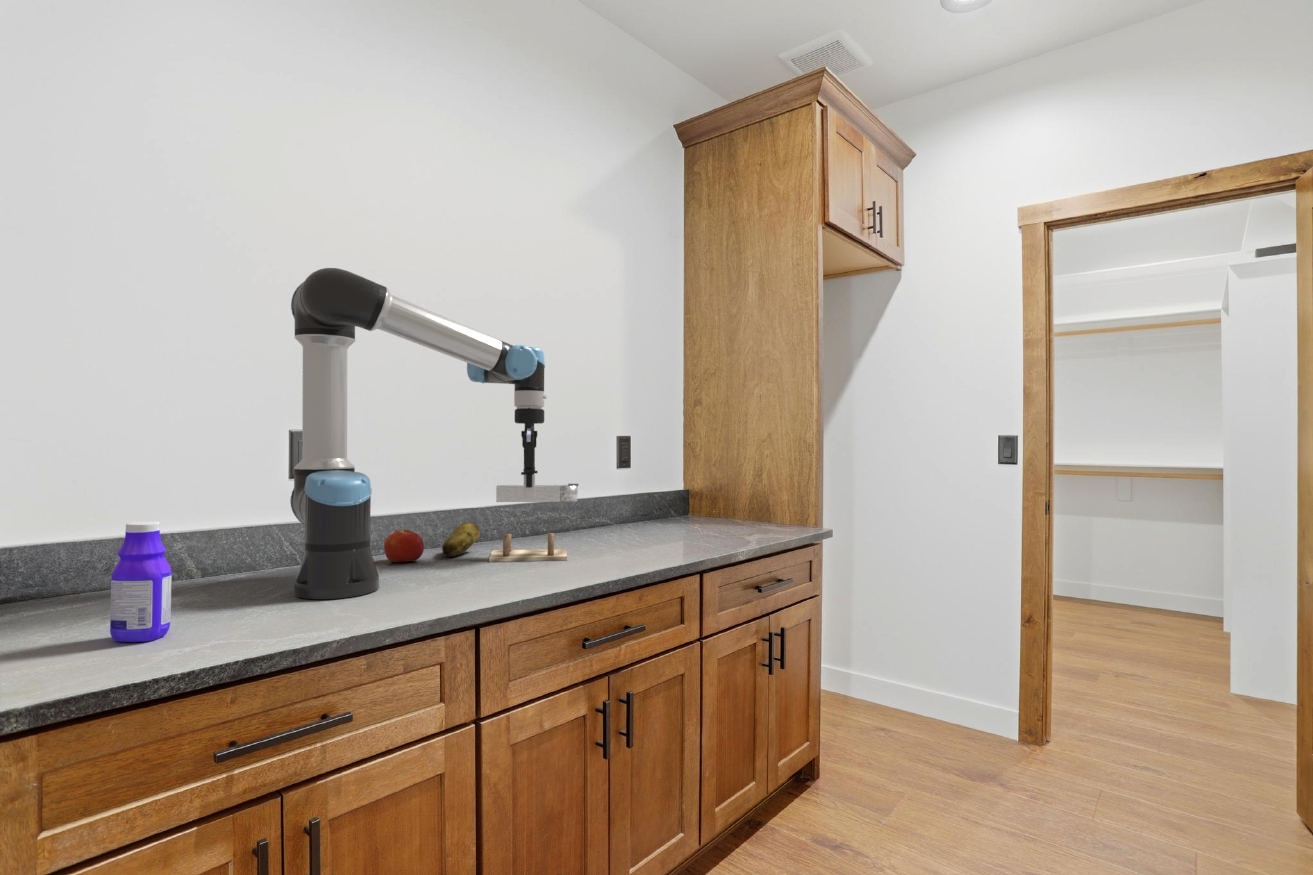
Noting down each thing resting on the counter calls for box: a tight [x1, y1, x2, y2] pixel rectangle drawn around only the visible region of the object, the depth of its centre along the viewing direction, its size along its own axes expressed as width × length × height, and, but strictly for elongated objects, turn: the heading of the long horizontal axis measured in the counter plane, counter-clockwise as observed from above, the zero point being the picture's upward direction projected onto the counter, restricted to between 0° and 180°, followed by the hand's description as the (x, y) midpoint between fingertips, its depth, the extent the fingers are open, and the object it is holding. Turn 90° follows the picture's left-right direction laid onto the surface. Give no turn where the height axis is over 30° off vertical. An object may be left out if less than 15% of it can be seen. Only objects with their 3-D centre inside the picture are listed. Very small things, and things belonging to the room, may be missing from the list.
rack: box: [488, 532, 568, 563], centre depth 170 cm, size 19×11×6 cm, turn 99°
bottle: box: [109, 520, 172, 643], centre depth 99 cm, size 7×6×17 cm
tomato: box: [383, 529, 425, 563], centre depth 163 cm, size 9×9×8 cm
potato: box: [441, 522, 481, 558], centre depth 173 cm, size 8×13×8 cm, turn 147°
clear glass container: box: [495, 483, 579, 503], centre depth 170 cm, size 21×5×4 cm, turn 99°
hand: (529, 499), depth 170 cm, fingers closed on clear glass container, 3 cm apart
